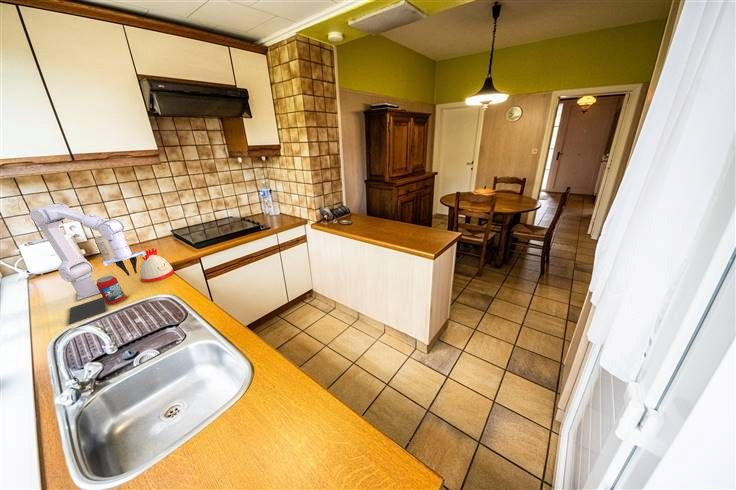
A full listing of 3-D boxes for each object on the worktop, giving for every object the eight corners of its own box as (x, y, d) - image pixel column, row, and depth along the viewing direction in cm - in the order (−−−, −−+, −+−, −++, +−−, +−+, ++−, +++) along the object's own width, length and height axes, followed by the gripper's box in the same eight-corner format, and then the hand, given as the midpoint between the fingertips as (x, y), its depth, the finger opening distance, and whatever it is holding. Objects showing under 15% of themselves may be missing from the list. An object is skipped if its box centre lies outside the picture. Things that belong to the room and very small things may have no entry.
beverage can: (114, 306, 117) (102, 282, 113) (102, 305, 119) (90, 282, 114) (129, 297, 124) (118, 275, 119) (118, 296, 125) (107, 274, 120)
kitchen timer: (179, 269, 148) (170, 245, 142) (157, 282, 136) (146, 256, 130) (158, 268, 151) (148, 244, 145) (135, 281, 138) (123, 255, 132)
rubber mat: (71, 308, 118) (70, 307, 118) (104, 297, 125) (103, 296, 125) (69, 324, 107) (68, 323, 107) (105, 311, 114) (105, 310, 114)
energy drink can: (119, 257, 170) (109, 235, 164) (109, 261, 164) (98, 238, 159) (112, 256, 171) (102, 235, 165) (102, 260, 166) (91, 238, 160)
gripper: (98, 255, 110) (112, 283, 116) (141, 244, 119) (152, 270, 125) (97, 250, 115) (111, 277, 120) (139, 240, 124) (150, 266, 129)
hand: (132, 273), depth 123 cm, fingers closed
